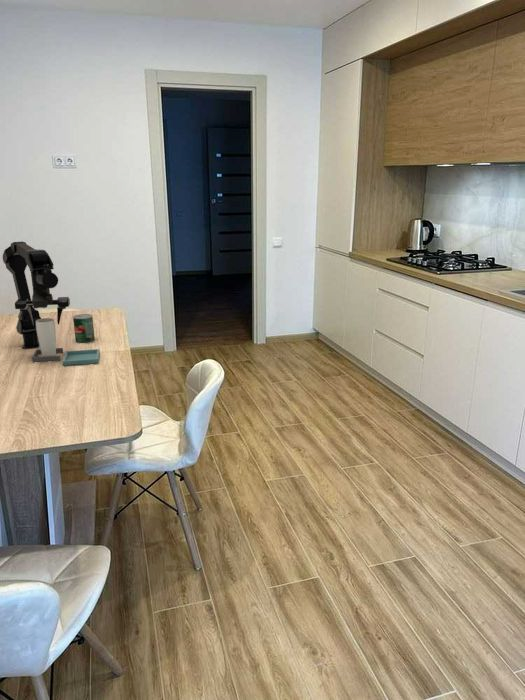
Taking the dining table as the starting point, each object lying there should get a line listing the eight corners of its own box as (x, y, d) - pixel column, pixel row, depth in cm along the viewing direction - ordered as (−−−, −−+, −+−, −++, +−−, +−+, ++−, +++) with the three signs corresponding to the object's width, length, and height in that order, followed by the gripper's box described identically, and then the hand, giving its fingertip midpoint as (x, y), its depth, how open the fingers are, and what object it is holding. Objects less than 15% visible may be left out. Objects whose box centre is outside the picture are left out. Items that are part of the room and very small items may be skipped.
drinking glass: (52, 360, 197) (47, 322, 193) (36, 359, 199) (31, 321, 194) (62, 355, 204) (57, 318, 199) (46, 354, 205) (42, 317, 200)
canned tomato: (97, 338, 226) (95, 314, 222) (90, 344, 218) (87, 318, 215) (80, 338, 227) (77, 313, 223) (72, 343, 219) (69, 318, 216)
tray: (66, 356, 203) (65, 351, 202) (99, 353, 206) (99, 349, 205) (62, 366, 191) (62, 361, 191) (98, 364, 194) (97, 359, 194)
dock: (36, 354, 205) (36, 349, 204) (63, 352, 207) (62, 347, 206) (32, 362, 195) (31, 357, 194) (60, 360, 197) (59, 355, 197)
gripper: (9, 289, 183) (15, 332, 188) (65, 287, 187) (69, 328, 192) (15, 284, 193) (20, 324, 198) (67, 282, 198) (72, 321, 202)
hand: (45, 325), depth 197 cm, fingers open, 9 cm apart
